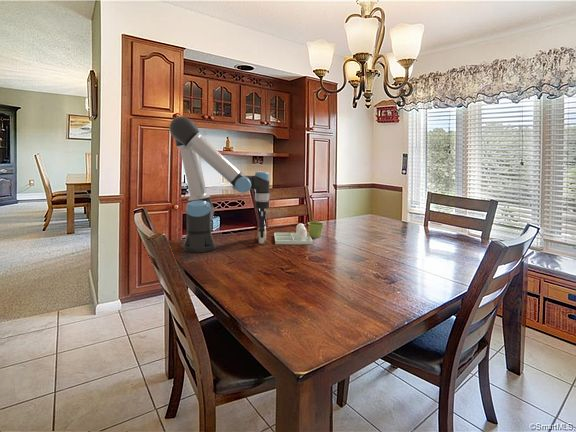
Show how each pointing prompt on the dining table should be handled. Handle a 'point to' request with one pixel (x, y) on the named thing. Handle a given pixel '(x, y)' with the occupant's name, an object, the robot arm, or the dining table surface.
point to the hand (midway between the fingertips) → (261, 240)
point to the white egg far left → (298, 228)
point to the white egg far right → (302, 234)
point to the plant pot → (315, 229)
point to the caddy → (290, 239)
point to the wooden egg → (264, 234)
